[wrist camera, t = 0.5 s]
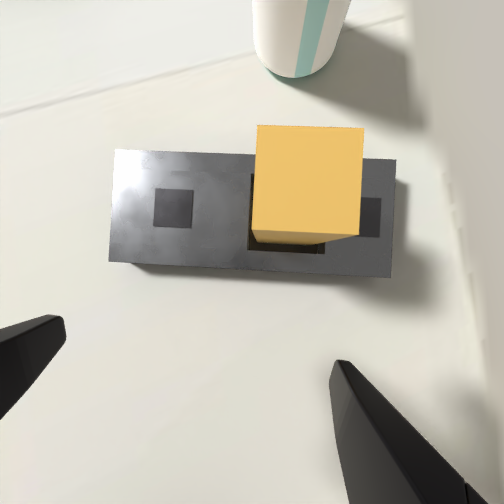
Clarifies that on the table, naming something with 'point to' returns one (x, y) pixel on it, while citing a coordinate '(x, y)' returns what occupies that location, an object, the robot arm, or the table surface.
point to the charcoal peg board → (232, 216)
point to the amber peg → (307, 184)
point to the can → (297, 33)
